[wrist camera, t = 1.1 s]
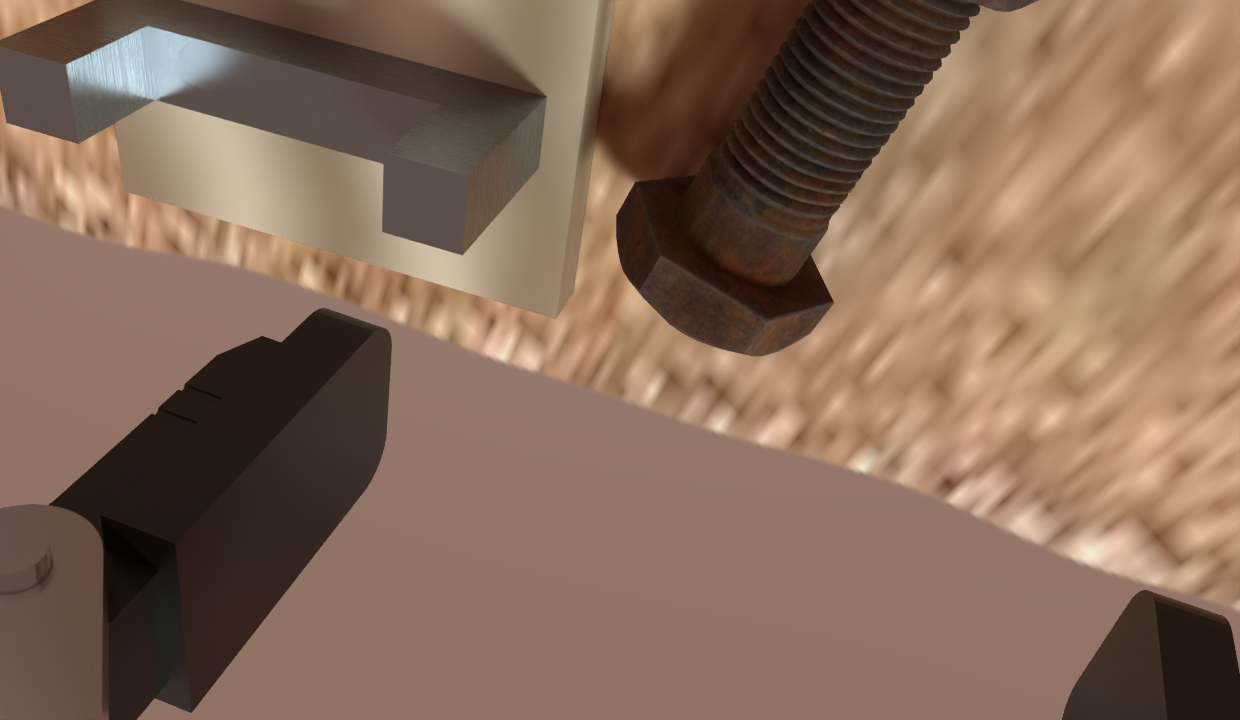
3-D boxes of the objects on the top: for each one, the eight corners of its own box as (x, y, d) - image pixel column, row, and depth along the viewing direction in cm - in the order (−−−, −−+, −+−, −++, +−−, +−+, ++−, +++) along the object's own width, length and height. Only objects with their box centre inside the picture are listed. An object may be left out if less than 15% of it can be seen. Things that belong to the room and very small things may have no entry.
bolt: (1123, -304, 23) (755, 239, 32) (940, -424, 21) (598, 193, 30) (1291, -203, 19) (819, 385, 28) (1087, -340, 17) (643, 345, 26)
